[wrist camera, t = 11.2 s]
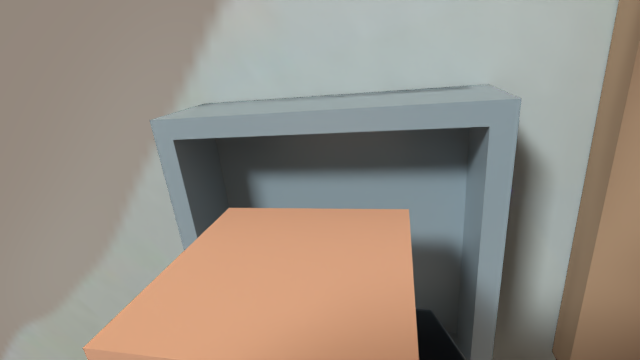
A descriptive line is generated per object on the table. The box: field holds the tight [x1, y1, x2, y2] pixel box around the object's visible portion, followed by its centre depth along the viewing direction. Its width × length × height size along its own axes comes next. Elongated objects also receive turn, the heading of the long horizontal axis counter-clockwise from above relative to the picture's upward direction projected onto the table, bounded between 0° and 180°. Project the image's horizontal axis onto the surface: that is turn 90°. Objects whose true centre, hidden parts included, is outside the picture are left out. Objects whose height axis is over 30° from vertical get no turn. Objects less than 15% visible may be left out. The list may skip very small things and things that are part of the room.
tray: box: [150, 84, 521, 360], centre depth 10 cm, size 8×8×2 cm
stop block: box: [83, 208, 419, 360], centre depth 6 cm, size 4×4×4 cm
